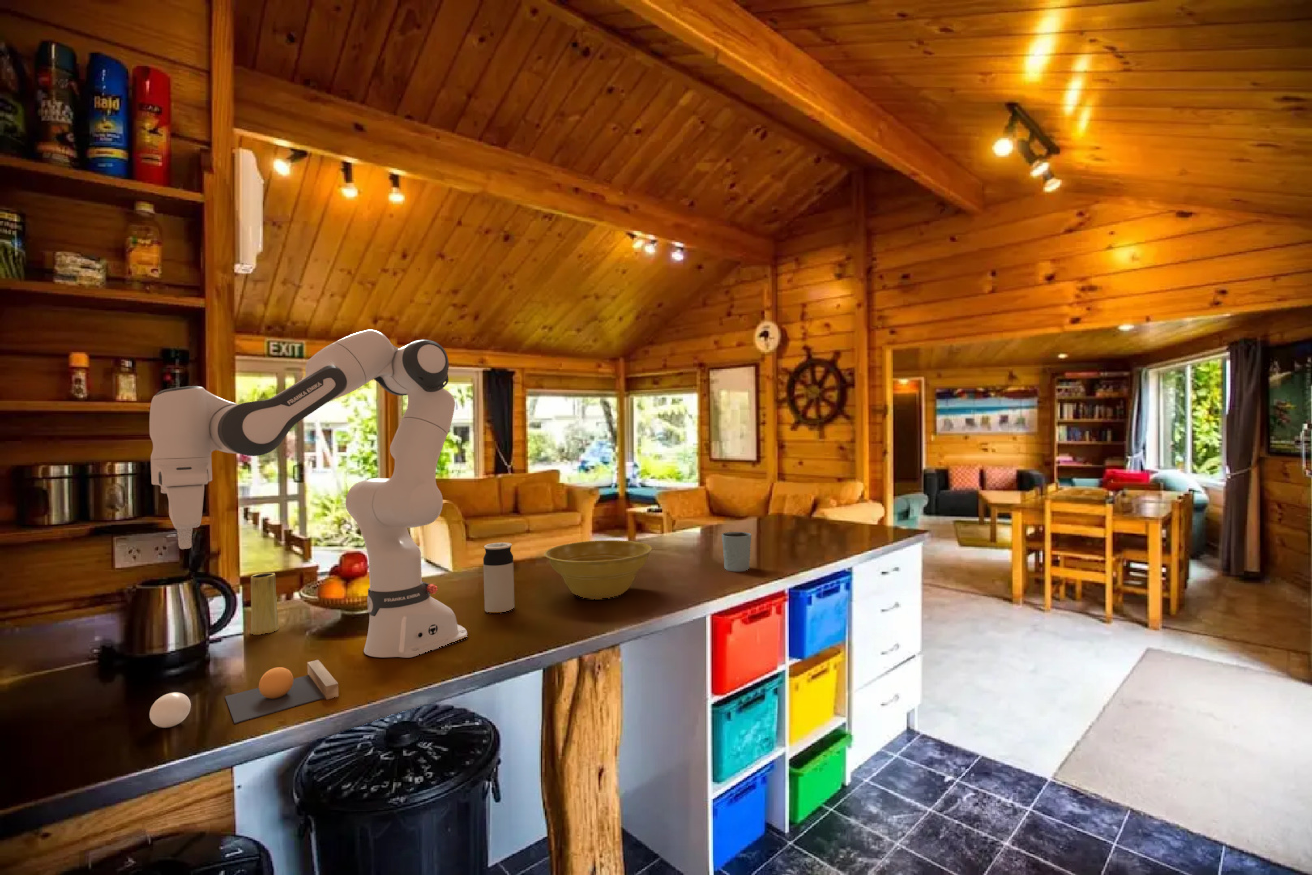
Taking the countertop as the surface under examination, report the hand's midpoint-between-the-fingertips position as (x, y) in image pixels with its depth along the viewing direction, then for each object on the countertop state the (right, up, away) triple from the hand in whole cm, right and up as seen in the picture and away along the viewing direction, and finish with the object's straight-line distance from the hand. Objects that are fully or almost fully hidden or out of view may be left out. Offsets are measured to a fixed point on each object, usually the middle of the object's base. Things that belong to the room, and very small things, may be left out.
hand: (185, 547), depth 110 cm
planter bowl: (+71, -27, +68) cm, 101 cm away
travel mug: (+44, -27, +54) cm, 75 cm away
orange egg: (+16, -26, +2) cm, 30 cm away
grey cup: (+116, -25, +95) cm, 152 cm away
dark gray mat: (+16, -29, +2) cm, 33 cm away
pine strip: (+22, -28, +7) cm, 36 cm away
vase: (-12, -29, +40) cm, 51 cm away
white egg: (+4, -26, -8) cm, 28 cm away
